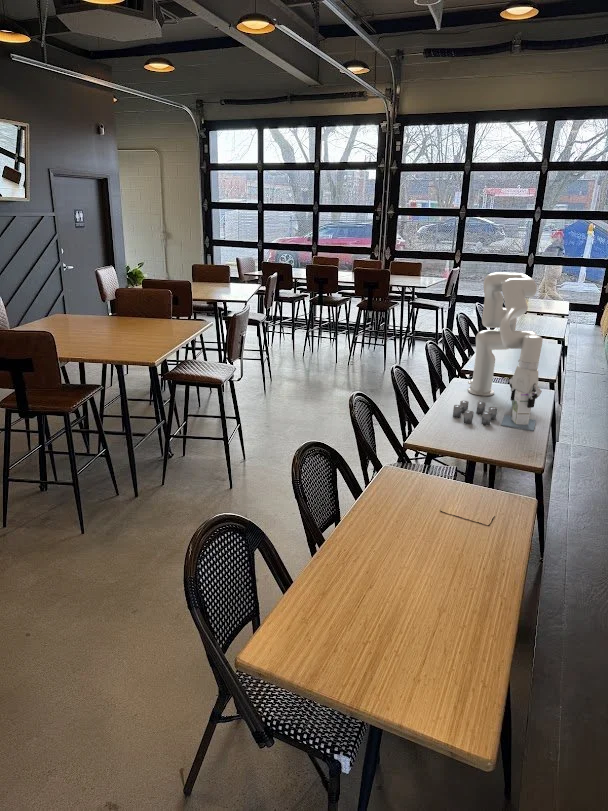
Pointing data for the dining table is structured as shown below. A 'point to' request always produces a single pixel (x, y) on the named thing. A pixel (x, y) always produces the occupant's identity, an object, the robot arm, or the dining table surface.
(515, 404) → the syrup box
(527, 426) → the slate mat
